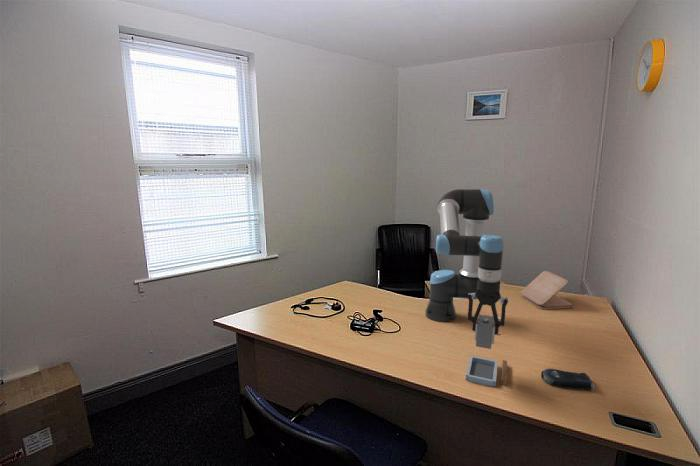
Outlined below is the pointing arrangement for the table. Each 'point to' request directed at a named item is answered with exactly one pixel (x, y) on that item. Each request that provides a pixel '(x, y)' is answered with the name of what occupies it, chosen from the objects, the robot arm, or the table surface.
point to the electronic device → (567, 379)
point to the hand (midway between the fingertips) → (484, 340)
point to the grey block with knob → (484, 331)
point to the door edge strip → (504, 372)
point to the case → (546, 291)
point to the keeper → (482, 371)
